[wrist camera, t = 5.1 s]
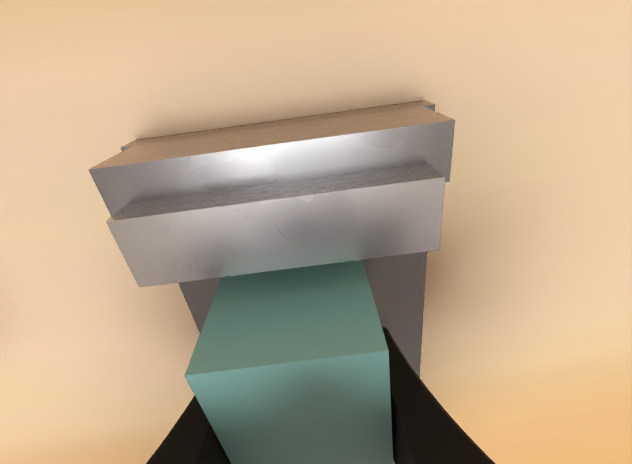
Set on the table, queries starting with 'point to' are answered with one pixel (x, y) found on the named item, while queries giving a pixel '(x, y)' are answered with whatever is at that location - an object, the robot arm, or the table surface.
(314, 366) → the block
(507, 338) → the table surface
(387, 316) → the vise
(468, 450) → the robot arm
